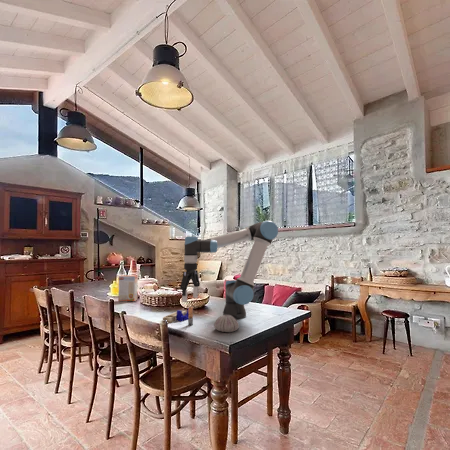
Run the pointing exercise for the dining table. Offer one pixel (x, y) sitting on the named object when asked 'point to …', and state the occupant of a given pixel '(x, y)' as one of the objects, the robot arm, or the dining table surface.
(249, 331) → the dining table surface
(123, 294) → the cracker box
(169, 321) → the joist batten
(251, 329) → the dining table surface
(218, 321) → the sea urchin shell
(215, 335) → the dining table surface
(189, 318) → the awl
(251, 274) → the robot arm
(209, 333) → the dining table surface
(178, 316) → the cable clip
